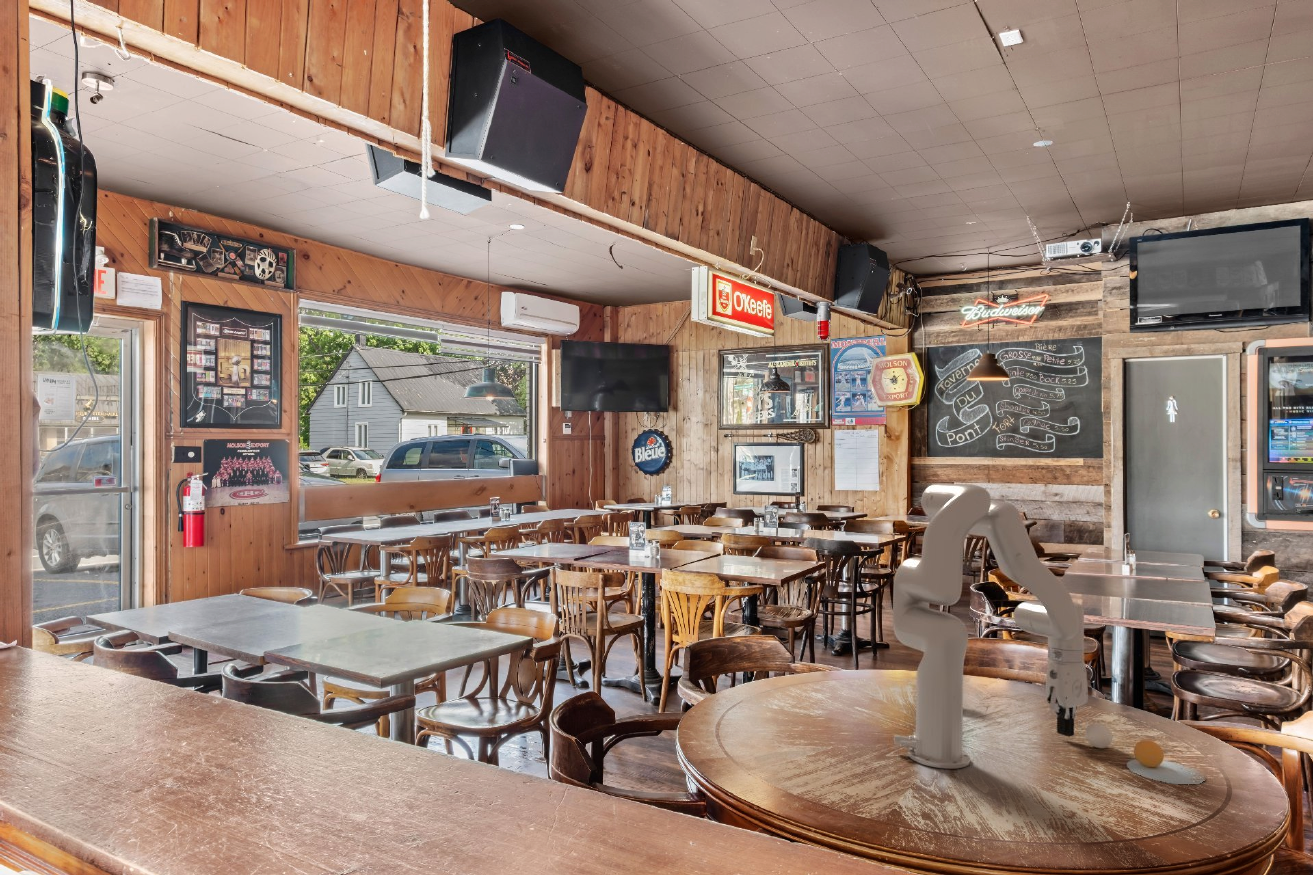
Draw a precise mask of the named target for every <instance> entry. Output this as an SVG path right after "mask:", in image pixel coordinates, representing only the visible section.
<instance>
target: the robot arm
mask: <svg viewBox="0 0 1313 875" xmlns="http://www.w3.org/2000/svg"><path fill="white" fill-rule="evenodd" d="M920 503H921V507H922V510H923V512H924V514H925V515H926V516H927V517H928V518H930V519H931V520H930V521H929V522H928V525H927V526H926V528H925V530H924V534H923V537H922V538H923V539H922V547H921V557H909V558H907V559H905V560H903V561H902V562H901V563H900V564H899V566H898V568H897V569H896V572H895V574H894V579H893V595H892V596H893V597H892V599H893V600H892V602H893V603H892V628H893V632H894V633H893V634H894V636H895V637H896V639H897V640H898V641H899V642H900V643H901V644H902V645H904V646H906V647H909V648H912V649H915V650H918V651H920V652H923V656H922V658H921V661H920V662H919V664H918V667H917V671H916V677H915V680H916V682H915V683H916V693H915V694H916V696H915V697H916V706H915V707H916V708H915V709H916V710H915V711H916V712H915V713H916V714H915V716H916V717H915V731H913V734H909V735H907V736H905V735H901V734H899V735H898V734H894V735H893V743H894V745H900V748H908V753H907V754H908V757H909V758H910V759H911V760H913V761H914V762H916V763H919V764H921V765H923V766H928V767H932V768H938V769H944V770H945V769H948V770H949V769H951V770H952V769H956V770H957V769H963V768H965V767H967V766H969V764H970V763H971V757H970V755H969V754H968V753H967V752H966V751H964V750H963V721H964V720H963V705H964V704H963V699H964V698H963V697H964V695H963V693H964V688H963V687H964V686H963V685H964V680H963V679H964V678H963V677H964V664H965V658H966V654H967V653H966V652H967V648H968V643H969V632H968V629H967V627H966V625H965V623H964V622H963V620H961V618H959V617H957V616H956V615H953V614H951V613H949V612H946V611H943V610H942V611H941V610H938V609H933V608H930V604H932V605H935V606H937V605H938V606H943V607H944V606H945V607H948V606H953V605H955V604H956V603H957V602H958V601H959V600H960V598H961V595H962V590H963V573H964V572H963V567H964V565H963V564H964V561H963V560H964V545H965V541H966V538H967V536H968V535H972V536H978V537H985V538H986V539H987V541H988V544H989V546H990V548H991V551H992V553H993V556H994V558H995V561H996V563H997V566H998V569H999V571H1000V572H1001V573H1002V575H1004V576H1005V577H1007V578H1008V579H1009V580H1011V581H1013V582H1014V583H1016V584H1017V585H1019V586H1020V587H1023V588H1024V589H1025V590H1027V591H1029V592H1030V593H1031V595H1033V596H1035V598H1036V599H1037V600H1026V601H1023V602H1021V603H1019V604H1018V605H1017V606H1016V607H1015V609H1014V611H1013V621H1014V623H1015V625H1016V626H1017V627H1018V628H1019V629H1021V630H1022V631H1024V632H1026V633H1029V634H1032V635H1036V636H1041V637H1046V638H1047V660H1048V662H1047V669H1046V678H1045V701H1046V702H1047V703H1048V704H1049V711H1050V712H1054V713H1055V716H1056V733H1057V734H1059V735H1063V736H1065V737H1073V736H1074V735H1075V718H1076V714H1077V709H1078V708H1079V707H1081V706H1082V705H1085V704H1086V703H1087V702H1088V699H1089V694H1088V693H1089V692H1088V691H1089V690H1088V687H1089V686H1088V675H1087V674H1088V673H1087V669H1086V663H1085V661H1084V660H1085V649H1084V648H1085V647H1084V646H1085V643H1084V642H1085V633H1084V632H1085V610H1084V607H1083V605H1082V604H1081V603H1079V602H1075V601H1073V598H1072V596H1071V594H1070V592H1069V591H1068V589H1067V587H1066V586H1065V585H1064V584H1063V583H1062V581H1061V580H1060V579H1059V578H1058V577H1057V576H1056V575H1055V574H1054V573H1053V572H1052V571H1051V570H1050V569H1049V568H1048V567H1047V566H1046V565H1045V564H1044V563H1043V562H1041V560H1040V559H1039V558H1038V555H1037V553H1036V550H1035V547H1034V545H1033V544H1032V540H1031V538H1030V535H1029V534H1028V530H1027V529H1026V525H1025V523H1024V521H1023V518H1022V515H1021V513H1020V511H1019V510H1018V508H1017V507H1016V506H1015V505H1013V504H1012V503H1010V502H1007V501H1002V500H992V498H991V494H990V492H989V491H988V490H987V489H986V488H984V487H982V486H980V485H975V484H971V483H970V484H969V483H945V482H944V483H932V484H931V485H929V486H928V487H926V488H925V489H924V491H923V492H922V494H921V500H920Z"/></svg>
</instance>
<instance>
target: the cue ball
mask: <svg viewBox="0 0 1313 875" xmlns="http://www.w3.org/2000/svg"><path fill="white" fill-rule="evenodd" d="M1084 735H1085V738H1086V741H1087V742H1088V744H1090V745H1091V746H1092V747H1094V748H1098V749H1105V748H1108V747H1109V746H1110V745H1112V742H1113V733H1112V730H1111V729H1110V727H1108V726H1107V725H1106V724H1104V723H1100V722H1092V723H1090V724H1089V725H1088V726H1087V727H1086V729H1085V733H1084Z"/></svg>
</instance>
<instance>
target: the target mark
mask: <svg viewBox="0 0 1313 875" xmlns="http://www.w3.org/2000/svg"><path fill="white" fill-rule="evenodd" d="M1183 766H1186V765H1184V764H1180V763H1177V762H1172V761H1167V760H1163V762H1162V763H1161V764H1160V765H1159V766H1157V767H1146V766H1144V765H1142V764H1140V763H1139V762H1138V761H1137V759H1136V758H1135V759H1131V760H1129V761H1128V762H1127V763H1126V767H1127V769H1128V768H1129V769H1128V770H1130V771H1131V772H1132V771H1133V772H1132V773H1134V774H1136V773H1137V774H1136V775H1138V776H1140V775H1141V776H1140V777H1143V778H1146V779H1149V780H1152V779H1153V780H1152V781H1156V782H1160V781H1162V782H1161V783H1165V782H1166V783H1165V784H1170V783H1171V784H1172V785H1178V784H1188V785H1187V786H1190V785H1189V784H1197V785H1201V784H1203V783H1204V782H1203V781H1206V777H1205V775H1204V774H1203V773H1201V772H1200V771H1198V770H1196V769H1194V768H1192V769H1189V768H1190V767H1189V766H1186V767H1183ZM1181 768H1182V769H1181ZM1185 768H1188V769H1185ZM1189 771H1190V772H1189ZM1190 773H1192V774H1190ZM1193 773H1197V774H1193ZM1199 773H1201V774H1199ZM1194 775H1197V776H1194ZM1198 775H1204V776H1198ZM1189 777H1190V778H1189ZM1193 777H1197V778H1193ZM1198 777H1199V778H1198ZM1200 777H1201V778H1200ZM1202 777H1205V778H1202ZM1191 779H1192V780H1191ZM1193 779H1195V780H1193ZM1196 779H1203V780H1196ZM1204 779H1205V780H1204ZM1183 781H1184V782H1183ZM1193 781H1197V782H1193ZM1198 781H1201V782H1198ZM1202 782H1203V783H1202ZM1200 783H1201V784H1200Z"/></svg>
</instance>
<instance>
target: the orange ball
mask: <svg viewBox="0 0 1313 875" xmlns="http://www.w3.org/2000/svg"><path fill="white" fill-rule="evenodd" d="M1133 755H1134V757H1135V760H1136V759H1137V761H1138V762H1139V763H1140V764H1142V765H1144V766H1146V767H1157V766H1159V765H1160V764H1161V763H1162V762H1163V761H1164V759H1165V756H1164V751H1163V748H1162V747H1161V746H1160V745H1159V744H1158V743H1156V742H1155V741H1153V740H1150V739H1142V740H1139V741H1138V742H1137V743H1136V744H1135V746H1134V748H1133Z"/></svg>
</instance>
